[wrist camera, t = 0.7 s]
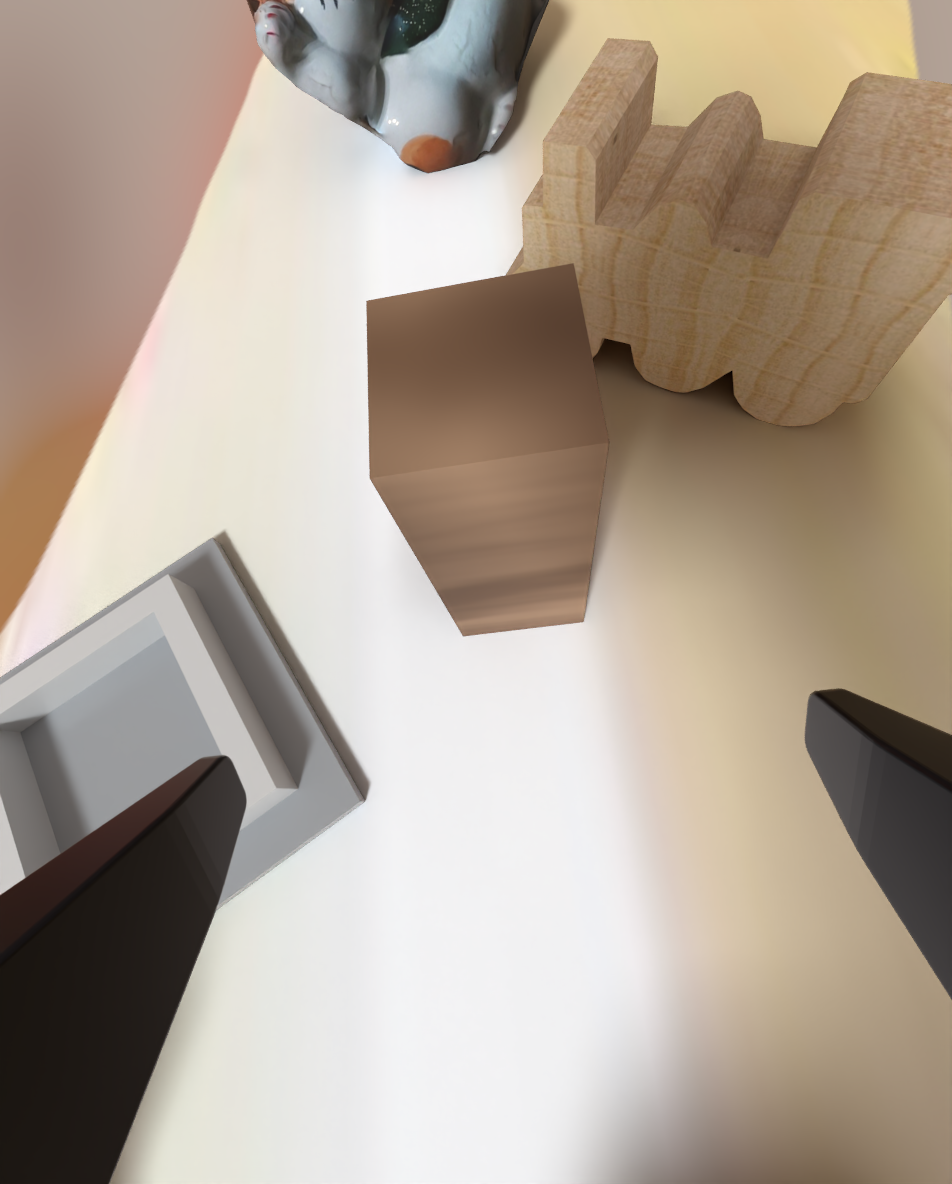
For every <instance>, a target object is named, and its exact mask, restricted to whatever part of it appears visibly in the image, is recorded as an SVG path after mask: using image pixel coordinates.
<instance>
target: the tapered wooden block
mask: <svg viewBox="0 0 952 1184" xmlns="http://www.w3.org/2000/svg"><path fill="white" fill-rule="evenodd" d="M367 354H368V409H369V463H370V480H371V481H372V483H373V485H374V486H375V488H376V490H377V491H378V493H379V495H380V496H381V498H382V500H383V502H384V503H385V505H386V507H387V508H388V510H389V512H390V513H391V515H392V517H393V518H394V520H395V522H396V523H397V525H398V527H399V529H400V530H401V532H402V534H403V535H404V537H405V539H406V540H407V542H408V544H409V545H410V547H411V549H412V551H413V552H414V554H415V556H416V557H417V559H418V561H419V562H420V564H421V566H422V567H423V569H424V571H425V573H426V574H427V576H428V578H429V579H430V581H431V583H432V584H433V586H434V588H435V589H436V591H437V593H438V594H439V596H440V598H441V600H442V601H443V603H444V605H445V606H446V608H447V610H448V611H449V613H450V615H451V616H452V618H453V620H454V622H455V623H456V625H457V627H458V628H459V630H460V632H461V633H462V635H463V636H470V635H478V634H486V633H495V632H503V631H512V630H520V629H528V628H537V627H545V626H554V625H562V624H570V623H579V622H583V621H584V614H585V608H586V601H587V594H588V587H589V580H590V573H591V566H592V559H593V552H594V545H595V538H596V531H597V524H598V517H599V510H600V503H601V496H602V489H603V483H604V476H605V469H606V462H607V455H608V448H609V439H608V434H607V428H606V423H605V418H604V413H603V408H602V403H601V398H600V393H599V388H598V383H597V378H596V373H595V368H594V363H593V358H592V353H591V348H590V343H589V338H588V333H587V328H586V323H585V318H584V313H583V308H582V303H581V298H580V293H579V288H578V283H577V278H576V273H575V267H574V263H572V264H566V265H561V266H555V267H550V268H544V269H539V270H533V271H528V272H522V273H517V274H511V275H506V276H500V277H495V278H489V279H484V280H478V281H473V282H467V283H462V284H456V285H451V286H445V287H440V288H435V289H429V290H424V291H418V292H413V293H407V294H402V295H396V296H391V297H385V298H380V299H374V300H369V301H367Z"/></svg>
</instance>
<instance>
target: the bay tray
mask: <svg viewBox="0 0 952 1184" xmlns="http://www.w3.org/2000/svg"><path fill="white" fill-rule="evenodd" d="M217 755H226V756H228V757H229V758H230V759H231V760H232V762H233V764H234V766H235V768H236V771H237V773H238V775H239V778H240V780H241V782H242V785H243V787H244V790H245V792H246V797H247V804H246V810H245V814H244V817H243V821H242V824H241V828H240V831H239V835H238V839H237V842H236V846H235V849H234V853H233V856H232V860H231V863H230V867H229V870H228V874H227V877H226V881H225V885H224V888H223V891H222V894H221V897H220V900H219V903H218V906H217V909H219V908H220V907H222V906H223V905H224V904H226V903H227V902H228V901H230V900H231V899H232V898H234V897H235V896H237V895H238V894H239V893H241V892H242V891H243V890H245V889H246V888H248V887H249V886H250V885H252V884H253V883H254V882H256V881H257V880H258V879H260V878H261V877H263V876H264V875H265V874H267V873H268V872H269V871H271V870H272V869H273V868H275V867H276V866H278V865H279V864H280V863H282V862H283V861H284V860H286V859H287V858H289V857H290V856H291V855H293V854H294V853H295V852H297V851H298V850H299V849H301V848H302V847H304V846H305V845H306V844H308V843H309V842H310V841H312V840H313V839H315V838H316V837H317V836H319V835H320V834H321V833H323V832H324V831H325V830H327V829H328V828H330V827H331V826H332V825H334V824H335V823H336V822H338V821H339V820H340V819H342V818H343V817H345V816H346V815H347V814H349V813H350V812H351V811H353V810H354V809H356V808H357V807H358V806H360V805H361V804H362V803H364V802H365V800H364V798H363V797H362V795H361V793H360V791H359V790H358V788H357V786H356V784H355V782H354V781H353V779H352V777H351V775H350V774H349V772H348V770H347V768H346V767H345V765H344V763H343V761H342V759H341V758H340V756H339V754H338V752H337V751H336V749H335V747H334V745H333V743H332V742H331V740H330V738H329V736H328V735H327V733H326V731H325V729H324V728H323V726H322V724H321V722H320V720H319V719H318V717H317V715H316V713H315V712H314V710H313V708H312V706H311V705H310V703H309V701H308V699H307V697H306V696H305V694H304V692H303V690H302V689H301V687H300V685H299V683H298V681H297V680H296V678H295V676H294V674H293V673H292V671H291V669H290V667H289V666H288V664H287V662H286V660H285V658H284V657H283V655H282V653H281V651H280V650H279V648H278V646H277V644H276V642H275V641H274V639H273V637H272V635H271V634H270V632H269V630H268V628H267V627H266V625H265V623H264V621H263V619H262V618H261V616H260V614H259V612H258V611H257V609H256V607H255V605H254V603H253V602H252V600H251V598H250V596H249V595H248V593H247V591H246V589H245V588H244V586H243V584H242V582H241V580H240V579H239V577H238V575H237V573H236V572H235V570H234V568H233V566H232V564H231V563H230V561H229V559H228V557H227V556H226V554H225V552H224V550H223V549H222V547H221V545H220V543H219V542H217V541H216V540H215V539H213V538H211V539H210V540H208V541H207V542H205V543H203V544H202V545H200V546H199V547H197V548H196V549H194V550H193V551H191V552H190V553H188V554H187V555H185V556H184V557H182V558H181V559H179V560H178V561H176V562H175V563H173V564H172V565H170V566H169V567H167V568H166V569H164V570H163V571H161V572H160V573H158V574H157V575H155V576H153V577H152V578H150V579H149V580H147V581H146V582H144V583H143V584H141V585H140V586H138V587H137V588H135V589H134V590H132V591H131V592H129V593H128V594H126V595H125V596H123V597H122V598H120V599H119V600H117V601H116V602H114V603H113V604H111V605H110V606H108V607H107V608H105V609H104V610H102V611H100V612H99V613H97V614H96V615H94V616H93V617H91V618H90V619H88V620H87V621H85V622H84V623H82V624H81V625H79V626H78V627H76V628H75V629H73V630H72V631H70V632H69V633H67V634H66V635H64V636H63V637H61V638H60V639H58V640H57V641H55V642H54V643H52V644H50V645H49V646H47V647H46V648H44V649H43V650H41V651H40V652H38V653H37V654H35V655H34V656H32V657H31V658H29V659H28V660H26V661H25V662H23V663H22V664H20V665H19V666H17V667H16V668H14V669H13V670H11V671H10V672H8V673H7V674H5V675H4V676H2V677H0V895H1V894H2V893H4V892H5V891H7V890H8V889H10V888H11V887H12V886H14V885H15V884H17V883H18V882H20V881H21V880H23V879H24V878H26V877H27V876H29V875H30V874H31V873H33V872H34V871H36V870H37V869H39V868H40V867H42V866H43V865H45V864H46V863H48V862H49V861H50V860H52V859H53V858H55V857H56V856H58V855H59V854H61V853H62V852H64V851H65V850H67V849H68V848H69V847H71V846H72V845H74V844H75V843H77V842H78V841H80V840H81V839H83V838H84V837H86V836H87V835H88V834H90V833H91V832H93V831H94V830H96V829H97V828H99V827H100V826H102V825H103V824H105V823H106V822H107V821H109V820H110V819H112V818H113V817H115V816H116V815H118V814H119V813H121V812H122V811H124V810H125V809H126V808H128V807H129V806H131V805H132V804H134V803H135V802H137V801H138V800H140V799H141V798H143V797H144V796H145V795H147V794H148V793H150V792H151V791H153V790H154V789H156V788H157V787H159V786H160V785H162V784H163V783H164V782H166V781H167V780H169V779H170V778H172V777H173V776H175V775H176V774H178V773H179V772H181V771H182V770H184V769H185V768H186V767H188V766H189V765H191V764H192V763H194V762H195V761H197V760H198V759H200V758H202V757H207V756H217ZM217 909H216V910H217Z"/></svg>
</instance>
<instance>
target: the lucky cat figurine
mask: <svg viewBox="0 0 952 1184" xmlns="http://www.w3.org/2000/svg"><path fill="white" fill-rule="evenodd" d="M247 2H248V5H249V8H250V11H251V13H252V16H253V19H254V21H255V30H256V35H257V42H258V45H259V47H260V48H261V50H262V51H263V53H264V54H265V56H266V57H267V58H268V59H269V60H270V62H271V63H272V64H273V66H274V67H275V68H276V69H277V70H278V71H280V72H281V73H282V74H283V75H284V76H286V77H287V78H288V79H289V80H290V81H292V82H293V84H294V85H295V86H296V87H298V88H299V89H301V90H302V91H304V92H305V93H307V94H309V95H310V96H312V97H314V98H315V99H317V100H319V101H320V102H322V103H323V104H325V105H327V106H328V107H329V108H331V109H332V110H334V111H336V112H338V113H340V114H342V115H344V116H345V117H346V118H347V119H349V120H351V121H353V122H355V123H357V124H359V125H360V126H362V127H364V128H365V129H367V130H368V131H370V132H371V133H373V134H374V135H376V136H378V137H379V138H381V139H382V140H383V141H385V142H386V143H387V144H388V145H390V146H392V147H393V149H394V150H395V152H396V153H397V155H398V156H399V158H400V159H401V160H402V161H403V162H404V163H405V164H407V165H408V166H411V167H413V168H415V169H418V170H421V171H423V172H426V173H430V172H434V171H440V170H444V169H448V168H451V167H455V166H458V165H463V164H467V163H471V162H473V161H475V160H476V159H477V158H478V156H479V155H480V154H481V153H482V152H483V151H488V152H489V151H490V150H491V148H492V147H493V145H494V143H495V142H496V140H497V139H498V138H499V136H500V135H501V133H502V132H503V130H504V129H505V127H506V125H507V123H508V122H509V120H510V118H511V116H512V114H513V108H514V102H515V101H516V97H517V88H518V80H519V77H520V73H521V70H522V67H523V63H524V60H525V58H526V55H527V53H528V50H529V48H530V46H531V43H532V41H533V38H534V36H535V33H536V31H537V29H538V26H539V24H540V21H541V19H542V16H543V14H544V12H545V9H546V7H547V4H548V2H549V0H247Z"/></svg>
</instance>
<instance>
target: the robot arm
mask: <svg viewBox="0 0 952 1184" xmlns="http://www.w3.org/2000/svg"><path fill="white" fill-rule="evenodd" d="M805 744H806V748H807V751H808V753H809V755H810V757H811V760H812V762H813V764H814V766H815V768H816V770H817V772H818V774H819V776H820V778H821V780H822V782H823V784H824V786H825V788H826V790H827V792H828V794H829V796H830V798H831V800H832V802H833V804H834V806H835V808H836V810H837V812H838V814H839V816H840V818H841V820H842V822H843V824H844V826H845V828H846V830H847V832H848V834H849V836H850V838H851V840H852V841H853V843H854V845H855V847H856V849H857V851H858V852H859V854H860V856H861V857H862V859H863V861H864V862H865V864H866V866H867V867H868V869H869V870H870V872H871V873H872V875H873V877H874V878H875V880H876V881H877V883H878V884H879V886H880V888H881V889H882V891H883V892H884V894H885V895H886V897H887V899H888V900H889V902H890V903H891V905H892V906H893V908H894V910H895V911H896V913H897V914H898V916H899V917H900V919H901V921H902V922H903V924H904V925H905V927H906V929H907V930H908V932H909V933H910V935H911V936H912V938H913V940H914V941H915V943H916V944H917V946H918V947H919V949H920V951H921V952H922V954H923V955H924V957H925V958H926V960H927V962H928V963H929V965H930V966H931V968H932V969H933V971H934V973H935V974H936V976H937V977H938V979H939V980H940V982H941V984H942V985H943V987H944V988H945V990H946V991H947V993H948V995H949V996H950V998H951V999H952V735H950V734H948V733H946V732H943V731H941V730H939V729H936V728H934V727H932V726H929V725H927V724H925V723H922V722H920V721H918V720H915V719H913V718H911V717H908V716H906V715H903V714H901V713H899V712H896V711H894V710H892V709H889V708H887V707H885V706H882V705H880V704H878V703H875V702H873V701H871V700H868V699H866V698H864V697H861V696H859V695H857V694H854V693H852V692H850V691H847V690H845V689H839V688H838V689H828V690H819V691H814V692H813V693H811V694H810V696H809V699H808V706H807V716H806V727H805ZM246 804H247V797H246V792H245V790H244V787H243V785H242V782H241V780H240V778H239V775H238V773H237V771H236V768H235V766H234V764H233V762H232V760H231V759H230V758H229V757H228V756H226V755H217V756H207V757H202V758H200V759H198V760H197V761H195V762H194V763H192V764H191V765H189V766H188V767H186V768H185V769H184V770H182V771H181V772H179V773H178V774H176V775H175V776H173V777H172V778H170V779H169V780H167V781H166V782H164V783H163V784H162V785H160V786H159V787H157V788H156V789H154V790H153V791H151V792H150V793H148V794H147V795H145V796H144V797H143V798H141V799H140V800H138V801H137V802H135V803H134V804H132V805H131V806H129V807H128V808H126V809H125V810H124V811H122V812H121V813H119V814H118V815H116V816H115V817H113V818H112V819H110V820H109V821H107V822H106V823H105V824H103V825H102V826H100V827H99V828H97V829H96V830H94V831H93V832H91V833H90V834H88V835H87V836H86V837H84V838H83V839H81V840H80V841H78V842H77V843H75V844H74V845H72V846H71V847H69V848H68V849H67V850H65V851H64V852H62V853H61V854H59V855H58V856H56V857H55V858H53V859H52V860H50V861H49V862H48V863H46V864H45V865H43V866H42V867H40V868H39V869H37V870H36V871H34V872H33V873H31V874H30V875H29V876H27V877H26V878H24V879H23V880H21V881H20V882H18V883H17V884H15V885H14V886H12V887H11V888H10V889H8V890H7V891H5V892H4V893H2V894H1V895H0V1184H110V1181H111V1178H112V1176H113V1173H114V1171H115V1168H116V1166H117V1163H118V1161H119V1158H120V1155H121V1153H122V1150H123V1148H124V1145H125V1143H126V1140H127V1137H128V1135H129V1132H130V1130H131V1127H132V1125H133V1122H134V1119H135V1117H136V1114H137V1112H138V1109H139V1107H140V1104H141V1102H142V1099H143V1096H144V1094H145V1091H146V1089H147V1086H148V1084H149V1081H150V1078H151V1076H152V1073H153V1071H154V1068H155V1066H156V1063H157V1061H158V1058H159V1055H160V1053H161V1050H162V1048H163V1045H164V1043H165V1040H166V1037H167V1035H168V1032H169V1030H170V1027H171V1025H172V1022H173V1019H174V1017H175V1014H176V1012H177V1009H178V1007H179V1004H180V1002H181V999H182V996H183V994H184V991H185V989H186V986H187V984H188V981H189V978H190V976H191V973H192V971H193V968H194V966H195V963H196V961H197V958H198V955H199V953H200V950H201V948H202V945H203V943H204V940H205V937H206V935H207V932H208V930H209V927H210V925H211V922H212V919H213V917H214V914H215V911H216V909H217V906H218V903H219V900H220V897H221V894H222V891H223V888H224V885H225V881H226V877H227V874H228V870H229V867H230V863H231V860H232V856H233V853H234V849H235V846H236V842H237V839H238V835H239V831H240V828H241V824H242V821H243V817H244V814H245V810H246Z"/></svg>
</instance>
